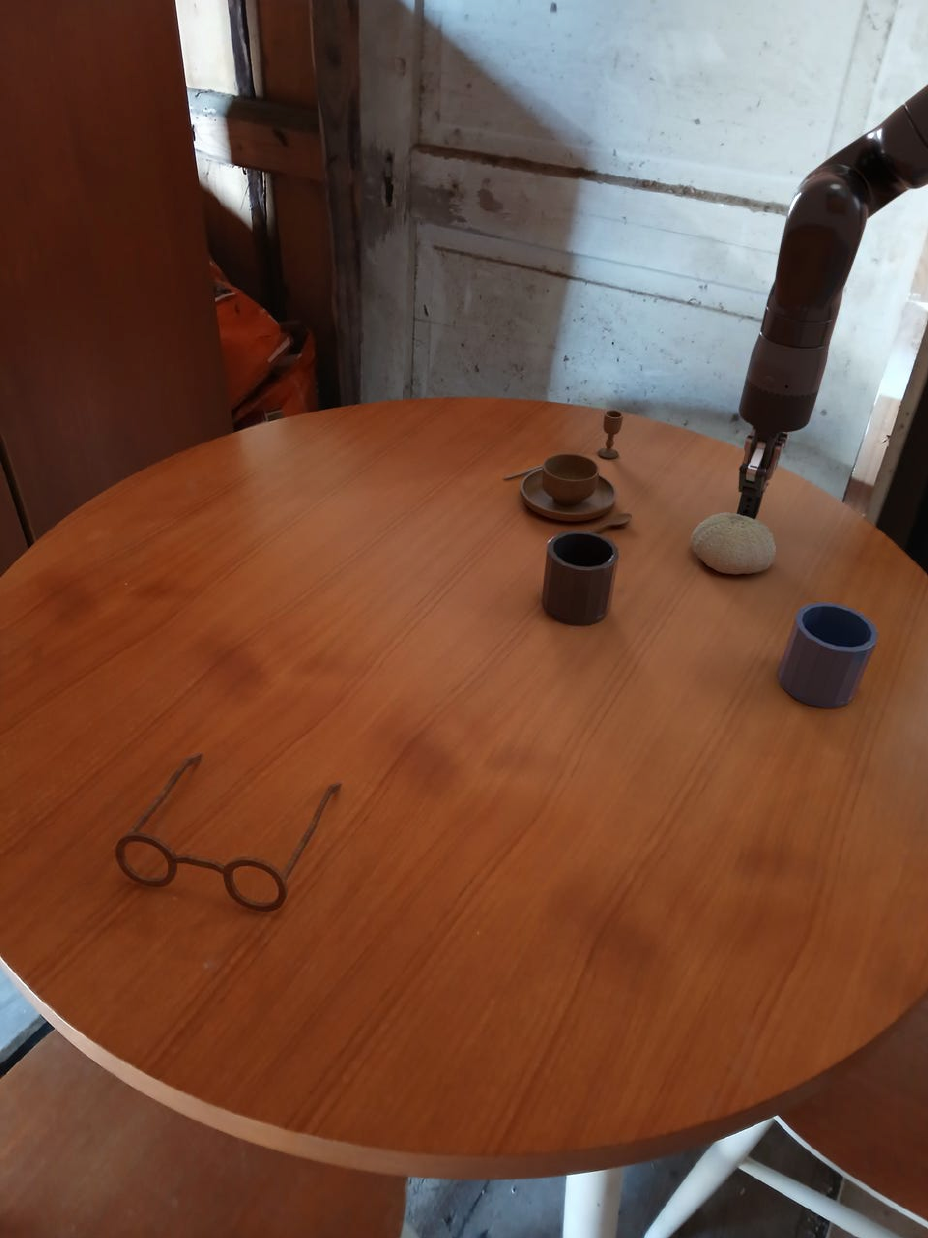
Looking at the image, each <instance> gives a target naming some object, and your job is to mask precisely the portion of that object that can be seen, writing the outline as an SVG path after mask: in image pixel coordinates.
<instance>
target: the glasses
mask: <svg viewBox="0 0 928 1238" xmlns="http://www.w3.org/2000/svg"><path fill="white" fill-rule="evenodd" d="M203 754H204V753H202V752H197V753H195V754H193V755H190V756H188V757H185V759H184V760H183V761H182V762H181V763H180V765H179V766H178V767H177V768H176V770H175V771H174V772H173V774H172V775H171V777H170V778H169V780H168V781H167V783H166V784H165V786H164V787H163V788H162V790H161V791H160V792H159V794H157V796H156V797H155V798H154V799H153V801H151V803H150V804H149V806H148V807H146V809H145V810H144V811H143V813H142V814H141V815H140V816H139V817H138V819H137V820H136V821H135V822H134V823H133V824H132V826H131V827H130V828H129V829H128V830H127V831H126V833H124V834H123V835H122V837H121V838H120V839H119V840H118V841H117V843H116V845H115V848H114V851H115V852H114V853H115V859H116V863H117V865H118V867H119V869H120V870H121V872H123V873H124V875H125V876H127V877H128V878H129V879H130V880H132V881H134V882H136V883H138V884H140V885H143V886H146V887H151V888H163V887H167V886H169V885H170V884H171V883H172V882H173V880H174V879H175V877H176V874H177V870H178V864H186V865H190V866H195V867H200V868H204V869H208V870H211V871H215V872H217V873H218V874H221V875H222V876H223V882H224V885H225V889H226V891H227V893H228V895H229V896H230V898H231V899H232V900H233V901H234V902H236V903H237V904H238V905H239V906H242V907H244V908H246V909H248V910H251V911H255V912H261V913H270V912H274V911H277V910H279V909H281V908H282V906H283V905H284V903H285V901H286V900H287V897H288V892H289V891H288V890H289V888H288V882H287V881H288V879H289V878H290V876H291V874H292V872H293V871H294V868H295V866H296V865H297V863H298V861H299V859H300V858H301V856H302V854H303V852H304V851H305V849H306V847H307V846H308V844H309V842H310V840H311V838H312V837H313V835H314V833H315V831H316V829H317V828H318V825H319V823H320V820H321V817H322V815H323V812H324V809H325V807H326V805H327V803H328V802H329V800H330V797H331V795H332V794H334V793H336V792H338V791H339V792H340V790H341V788H342V784H343V783H342V782H340V781H337V782H334V783H332V784H330V785H329V786H328V787H327V789H326V791H325V792H324V794H323V795H322V797H321V799H320V801H319V803H318V805H317V808H316V810H315V813H314V815H313V817H312V819H311V822H310V823H309V825H308V827H307V829H306V830H305V831H304V833H303V835H302V837H301V839H300V841H299V843H298V844H297V846H296V848H295V849H294V851H293V852H292V855H291V856H290V858H289V860H288V862H287V863H286V864H285V867H284V869H283V870H282V871H281V870H280V869H279V868H278V867H277V866H276V865H274V864H272V863H271V862H269V861H268V860H264V859H263V858H259V857H256V856H237V857H235V858H233V859H230V860H229V861H228V862H227V863H226V864H225V865H224V864H223V863H221V862H220V861H217V860H216V859H212V858H208V857H204V856H199V855H194V854H191V853H190V854H189V853H181V854H176V852H175V850H174V849H173V848H172V847H171V846H170V845H168V844H167V842H165V841H164V840H162V839H160V838H159V837H157V836H155V835H152V834H149V833H145V832H140V830H142V828H143V827H144V826H145V825H146V823H148V821H149V820H150V818H152V816H153V815H154V814H155V813H156V811H158V809H159V807H160V806H162V804H163V803H164V802H165V800H166V799H167V798H168V797H169V795H170V793H171V792H172V791H173V789H174V787H175V786H176V784H177V782H178V781H179V779H180V778H181V777H182V775H184V773H185V771H186V770H187V769H188V767H191V766H193V765H194V764H197V763H199V762H201V761H202V758H203ZM134 842H135V843H136V842H139V843H143V844H147V845H150V846H152V847H154V848H156V849H157V850H158V851H159V852H161V854H162V855H163V856H164V858H165V859H166V862H167V873H166V875H165V876H163V877H150V876H147V875H144V874H142V873H140V872H139V871H137V870H135V869H134V868H133V867H132V866H131V864H130V863H129V861H128V859H127V856H126V848H127V846H129V844H130V843H134ZM240 867H253V868H256V869H260V870H262V871H264V872H266V873H267V874H268V875H269V876H271V877H272V879H273V880H274V882H276V885H277V889H278V895H277V898H275V899H274V900H273V901H269V902H262V901H257V900H253V899H250V898H248V897H247V896H245V895H243V894H242V893H241V892H240V891H239V890H238V888H237V887H236V884H235V880H234V876H233V875H234V871H235V870H236V869H238V868H240Z"/></svg>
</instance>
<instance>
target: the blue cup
mask: <svg viewBox="0 0 928 1238" xmlns="http://www.w3.org/2000/svg"><path fill="white" fill-rule="evenodd" d="M878 637H879V632H878V630H877V628H876V626H875V624H874V623H873V622H872V620H870V619H869V618H868V617H867V616H866V615H865V614H863V613H861V612H859V611H857V610H856V609H854V608H852V607H849V606H846V605H843V604H839V603H835V602H822V601H821V602H820V601H819V602H813V603H808V604H805V605H804V606H803V607H801V608H800V609H798V611H797V612H796V615H795V618H794V621H793V624H792V627H791V630H790V633H789V636H788V639H787V642H786V645H785V647H784V651H783V654H782V657H781V660H780V663H779V666H778V670H777V678H778V682H779V684H780V686H781V688H782V689H783V690H784V691H785V692H786V693H787V694H788V695H789V696H791V697H793V698H794V699H796V700H797V701H799V702H801V703H804V704H806V705H808V706H812V707H817V708H821V709H835V708H836V709H837V708H840V707H843V706H845V705H848V704H849V703H850V702H851V701H853V699H854V697H855V695H856V694H857V691H858V689H859V686H860V684H861V681H862V679H863V676H864V674H865V671H866V670H867V667H868V664H869V661H870V659H871V657H872V655H873V652H874V650H875V648H876V645H877V641H878Z"/></svg>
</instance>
